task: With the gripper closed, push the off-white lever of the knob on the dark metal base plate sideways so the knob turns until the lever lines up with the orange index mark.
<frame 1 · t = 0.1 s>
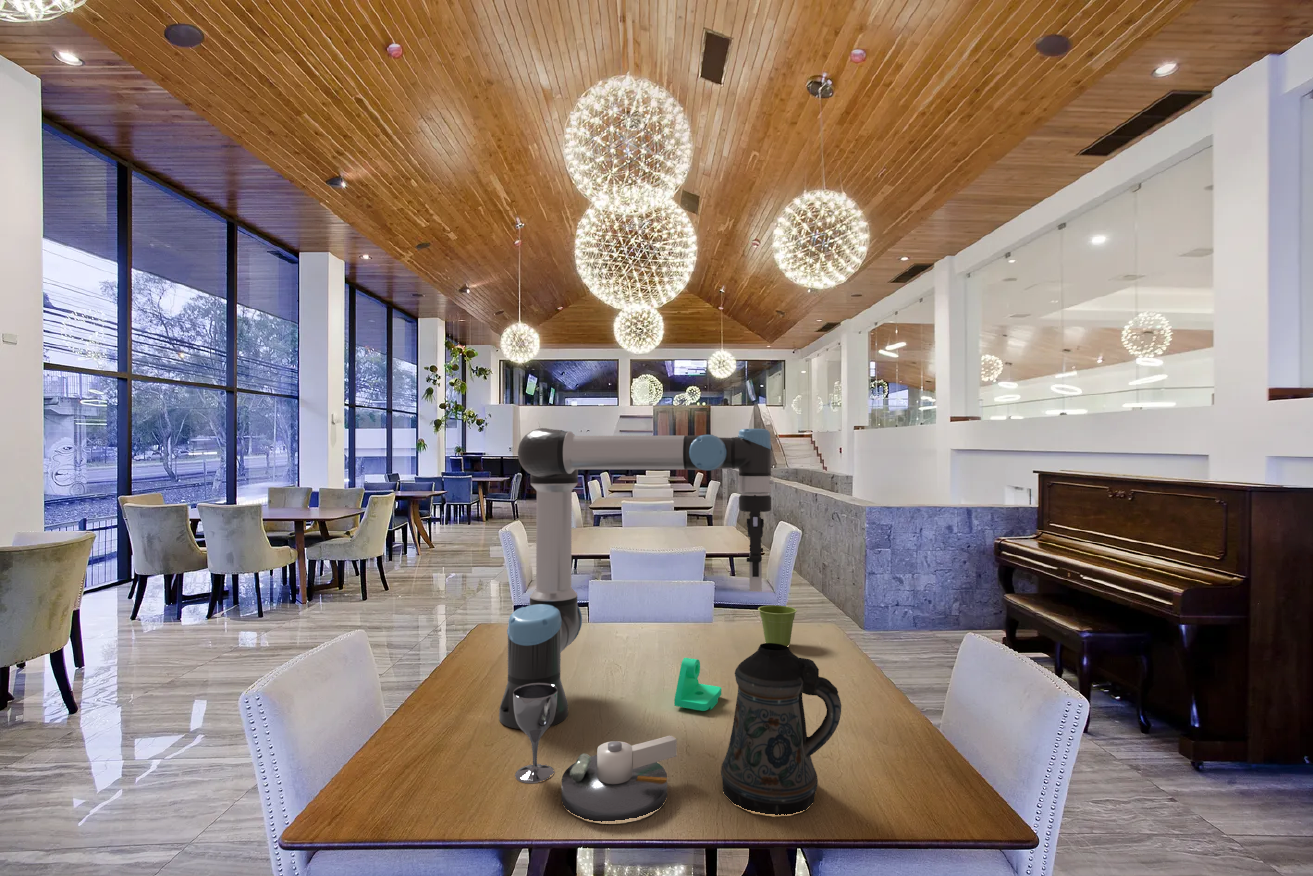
hand: (755, 585, 149), 28 cm above the table, tool pointing down, fingers open, 13 cm apart
wine glass: (534, 774, 116), on the table
beer stein: (777, 793, 110), on the table
plant pot: (777, 646, 196), on the table
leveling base: (614, 794, 109), on the table
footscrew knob: (637, 753, 111), point 6 cm above the table, hinge at 40.0°
camera mount: (699, 705, 150), on the table
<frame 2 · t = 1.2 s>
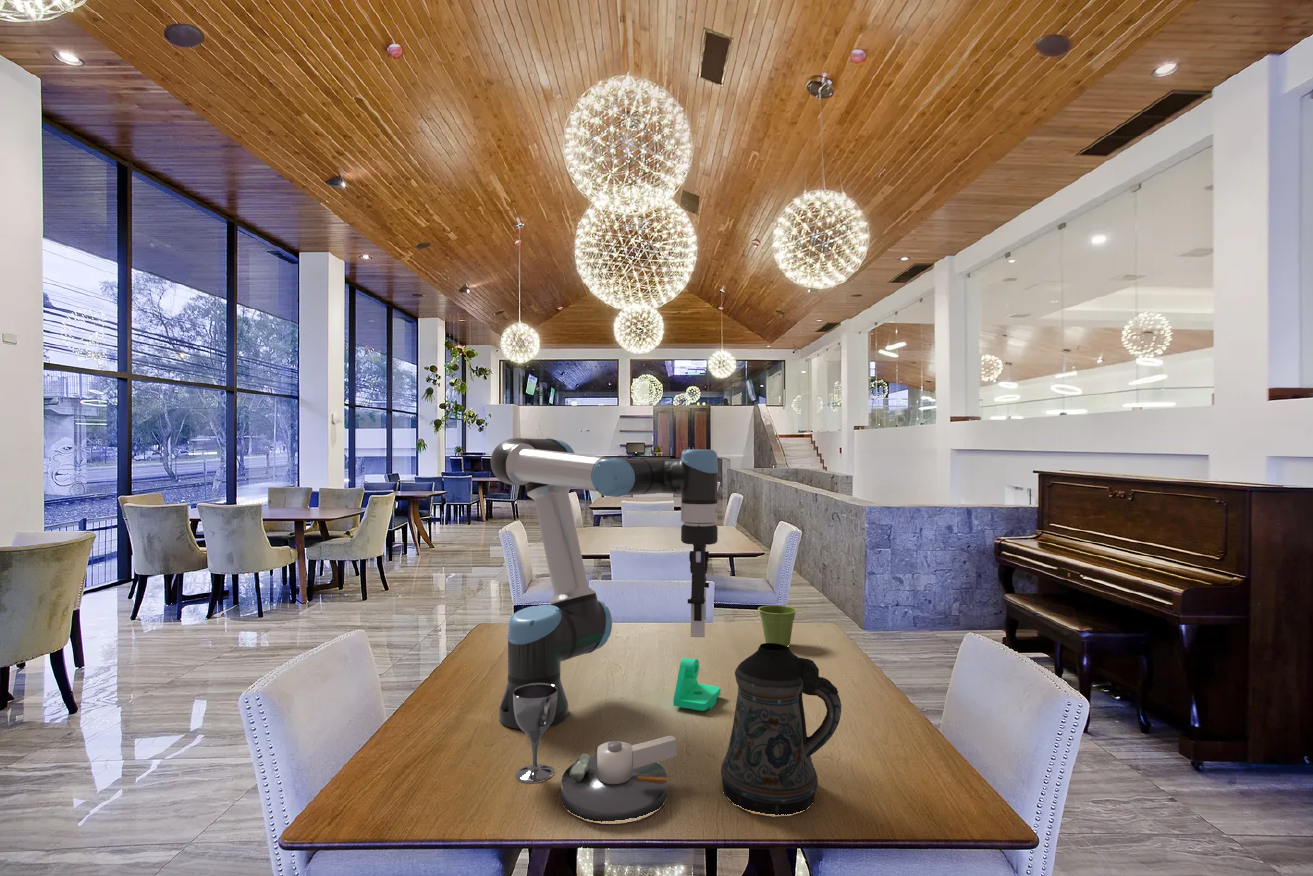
hand: (698, 627, 131), 23 cm above the table, tool pointing down, fingers open, 13 cm apart
nothing on the table moved.
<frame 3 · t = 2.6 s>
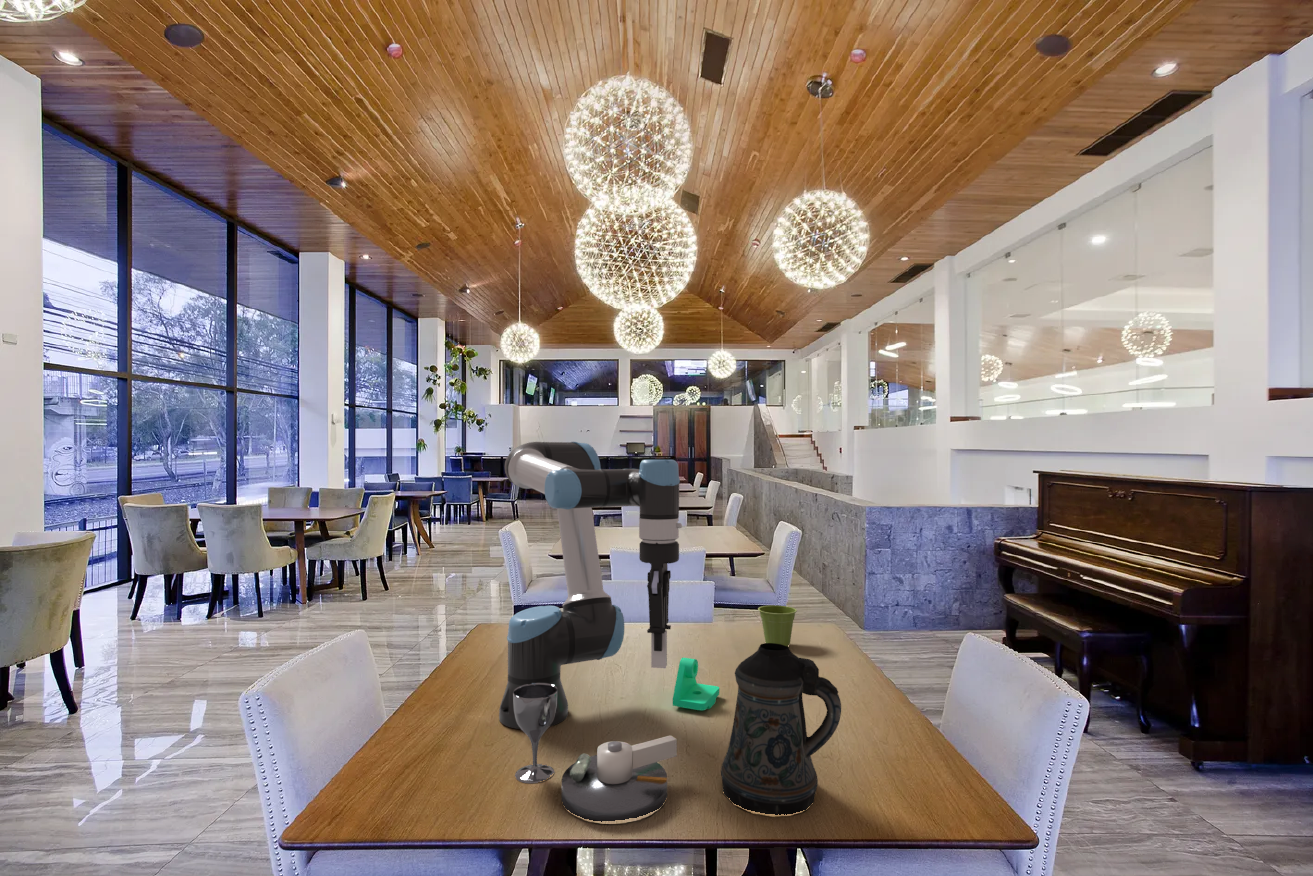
hand: (659, 666, 120), 18 cm above the table, tool pointing down, fingers closed
nothing on the table moved.
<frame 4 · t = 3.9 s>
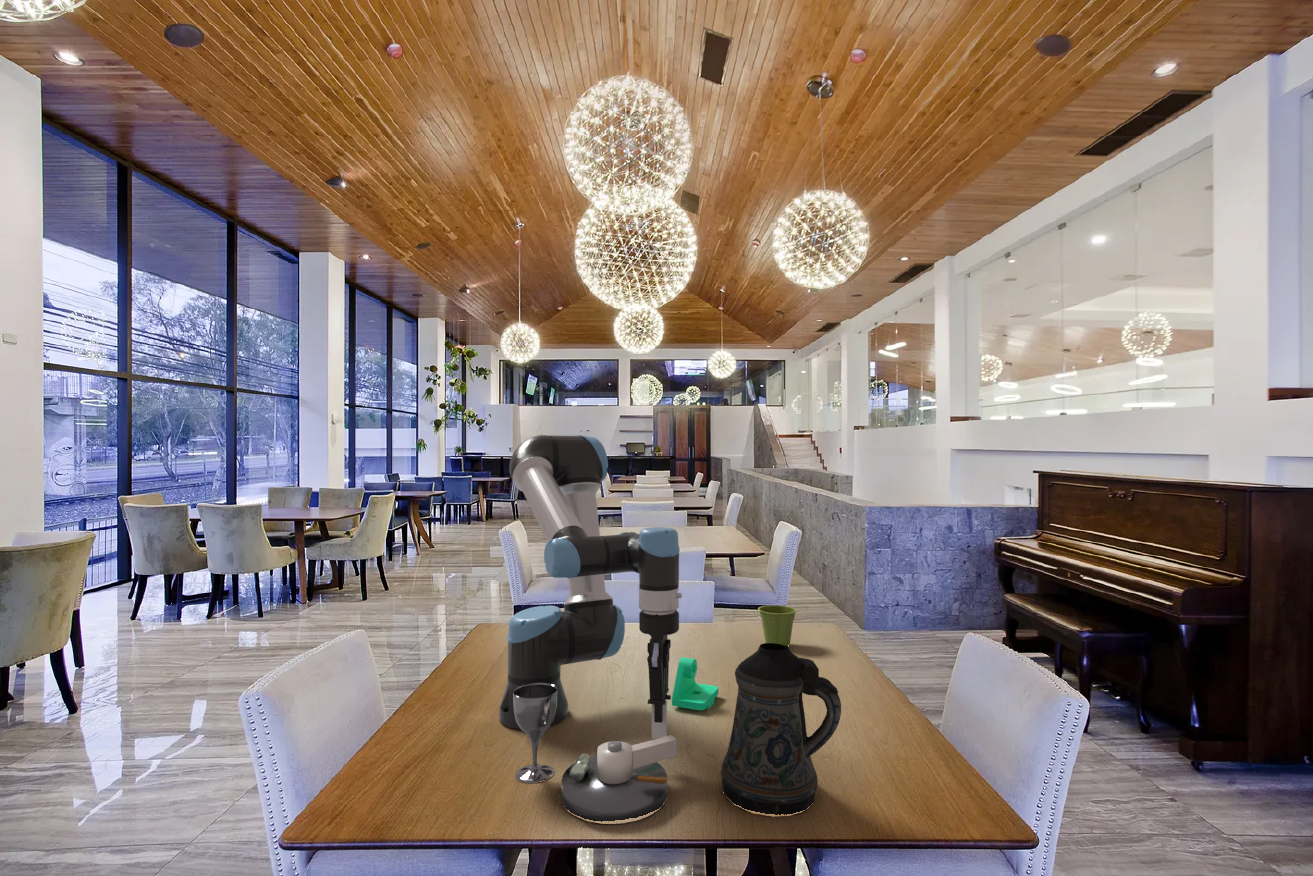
hand: (659, 737, 119), 5 cm above the table, tool pointing down, fingers closed
nothing on the table moved.
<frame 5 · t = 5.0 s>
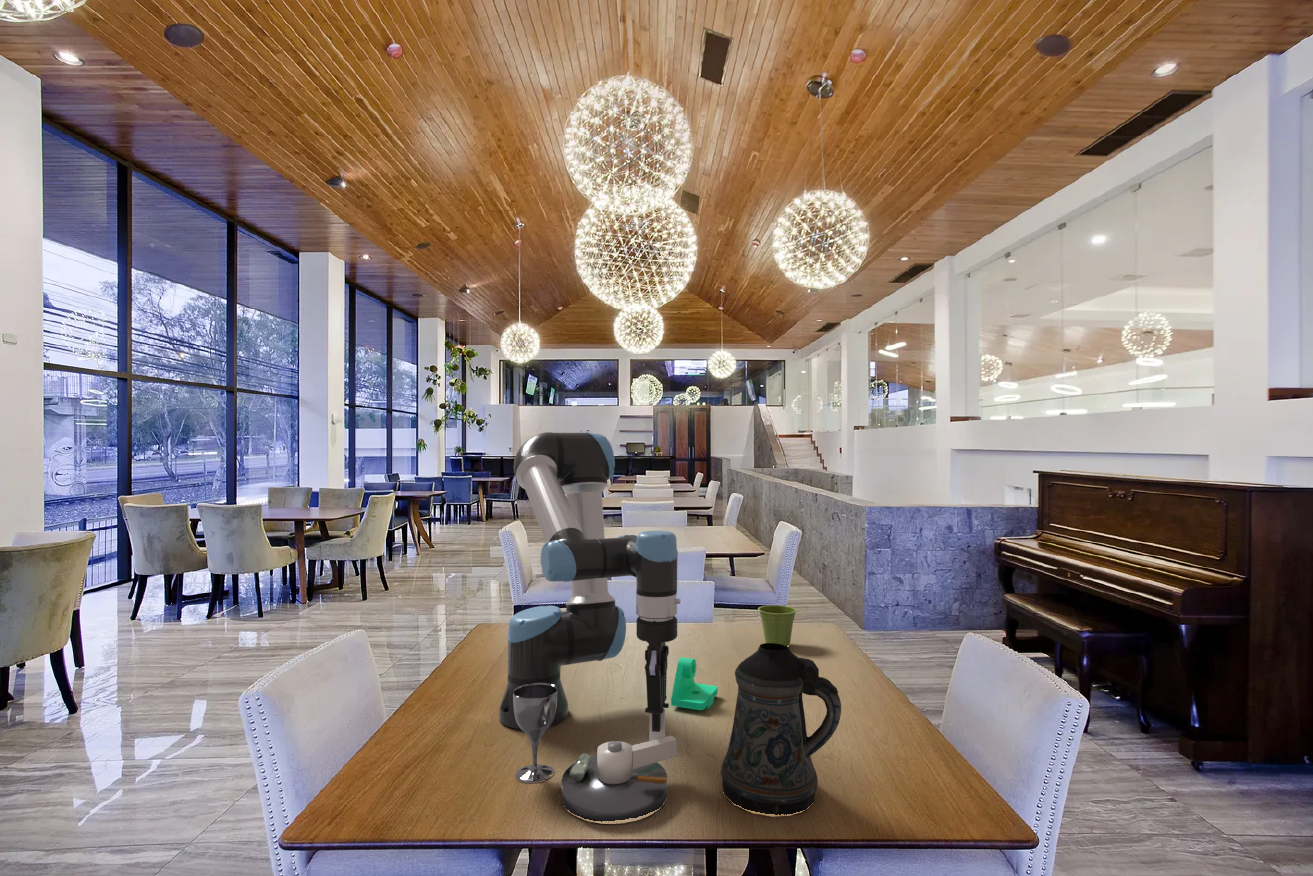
hand: (657, 746, 116), 5 cm above the table, tool pointing down, fingers closed
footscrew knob: (637, 753, 111), point 6 cm above the table, hinge at 39.5°, touching gripper
everything else where it was.
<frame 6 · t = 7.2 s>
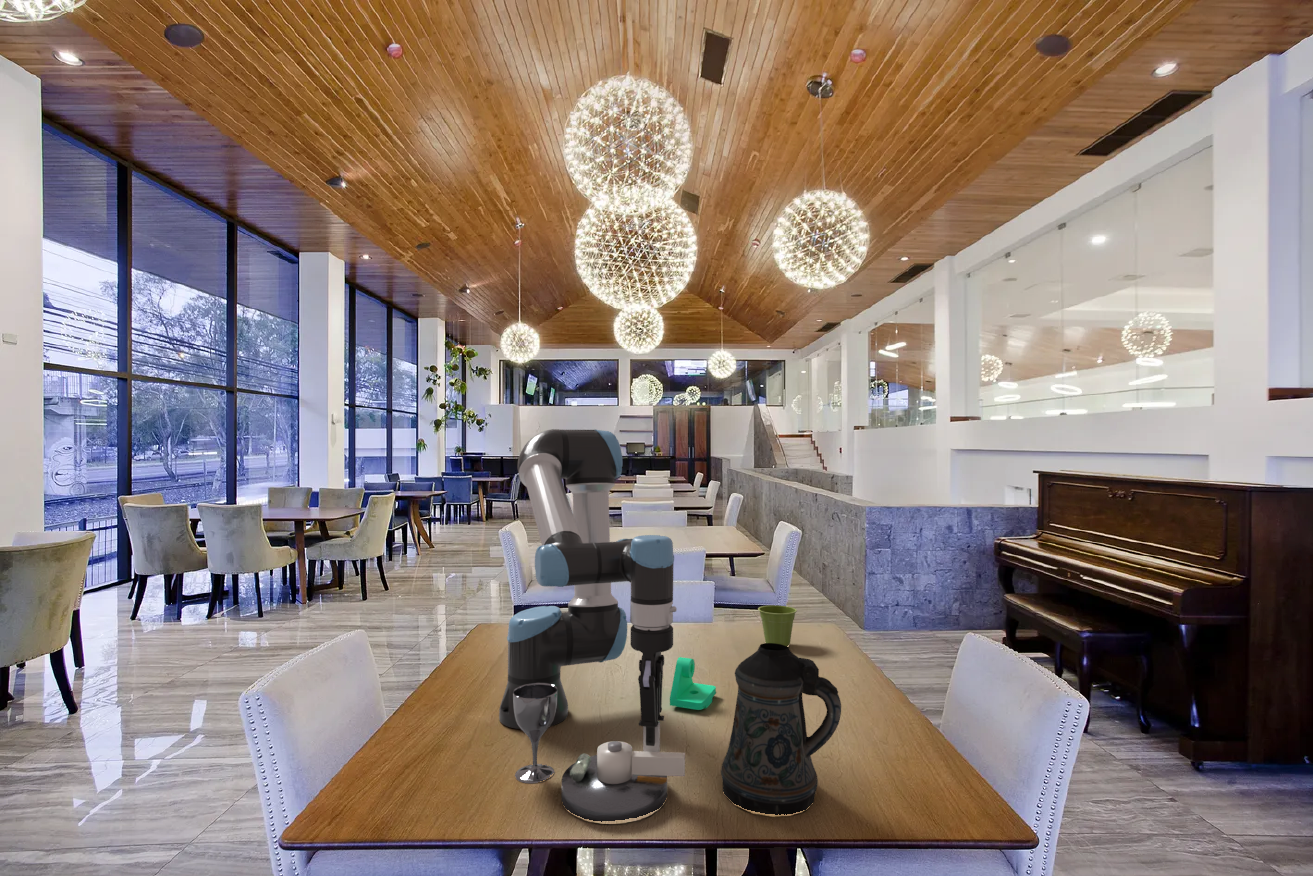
hand: (651, 760, 111), 5 cm above the table, tool pointing down, fingers closed
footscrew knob: (640, 760, 109), point 6 cm above the table, hinge at 4.6°
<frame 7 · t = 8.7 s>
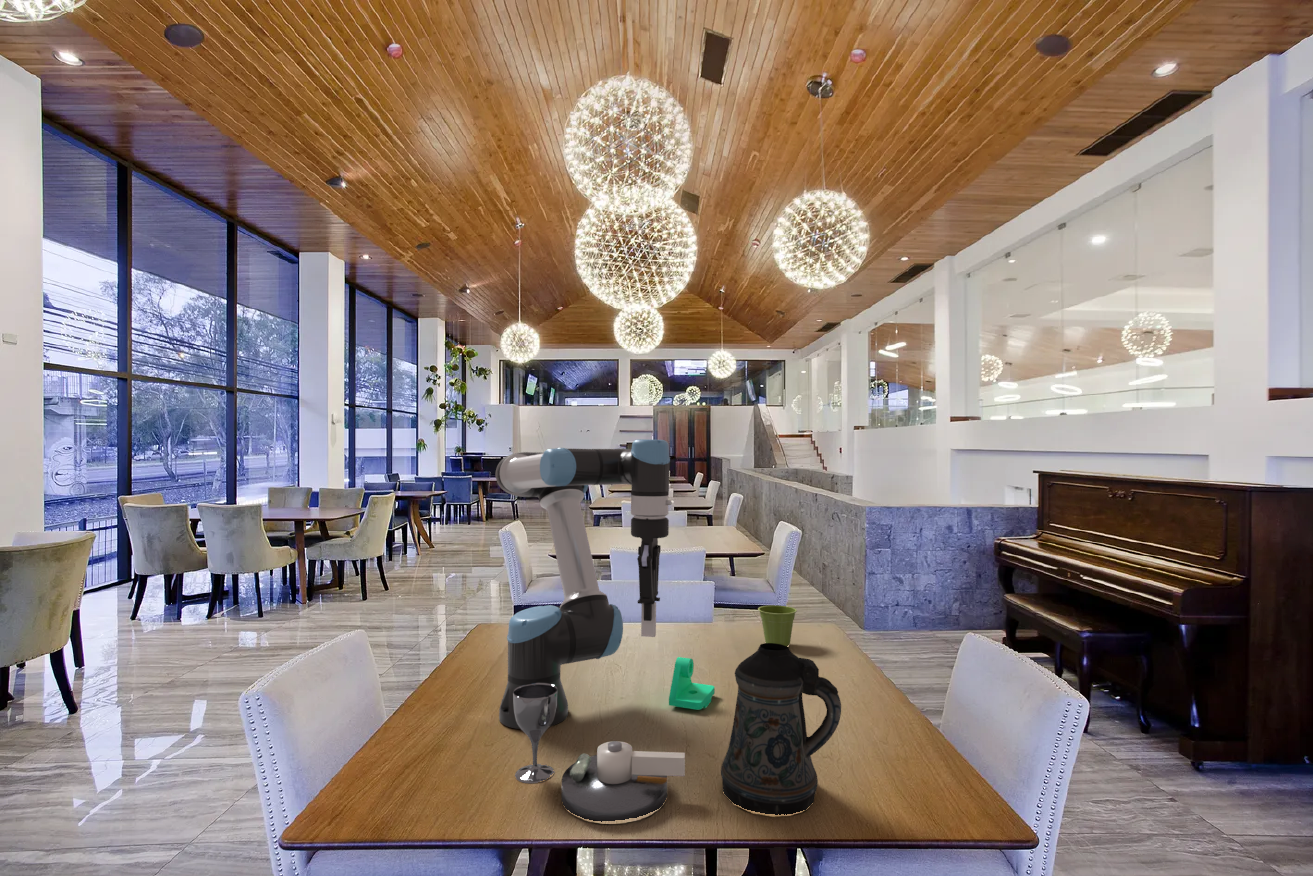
hand: (648, 635, 126), 22 cm above the table, tool pointing down, fingers closed
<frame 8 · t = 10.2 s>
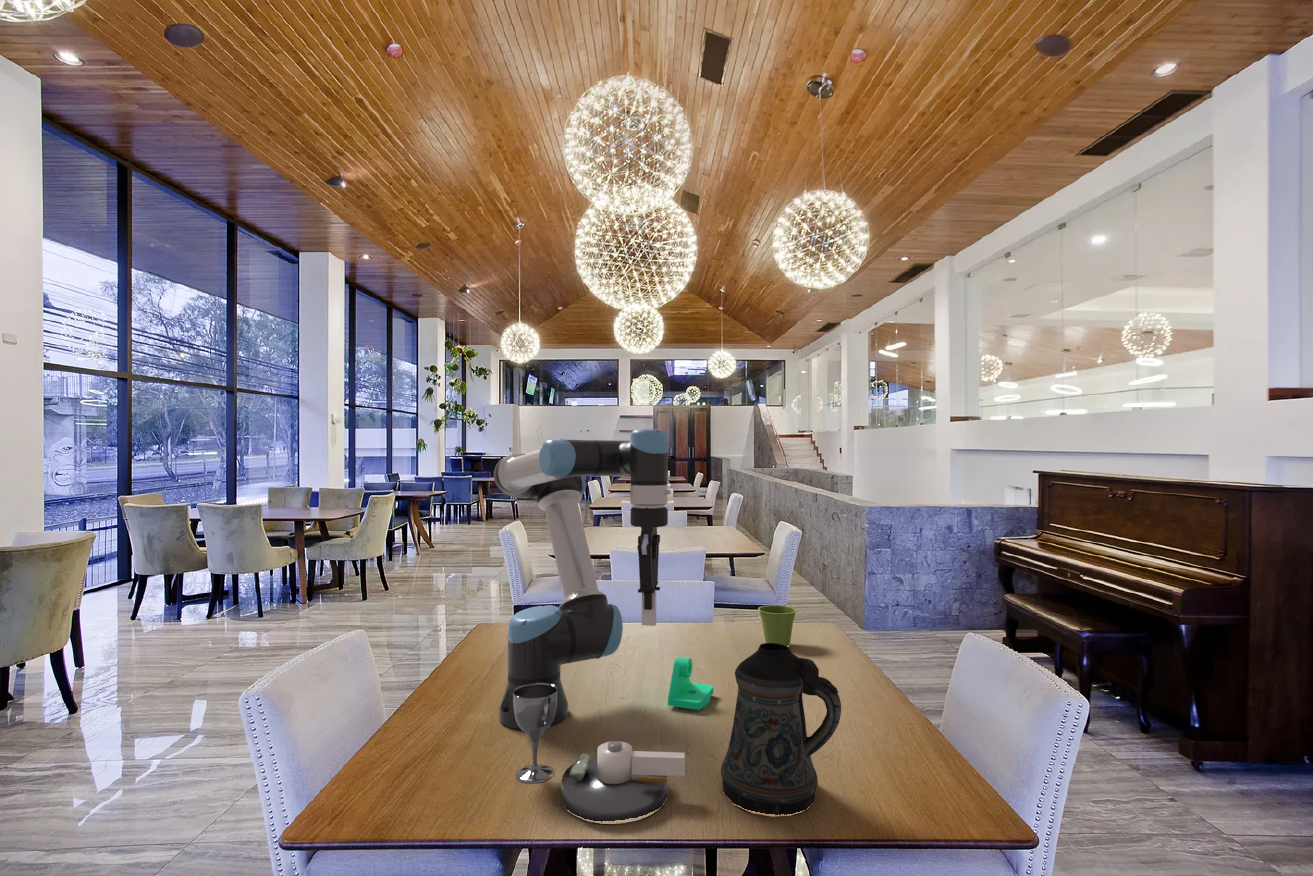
hand: (649, 624, 127), 24 cm above the table, tool pointing down, fingers closed
at the end: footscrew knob at +5° (first picture: +40°) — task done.
